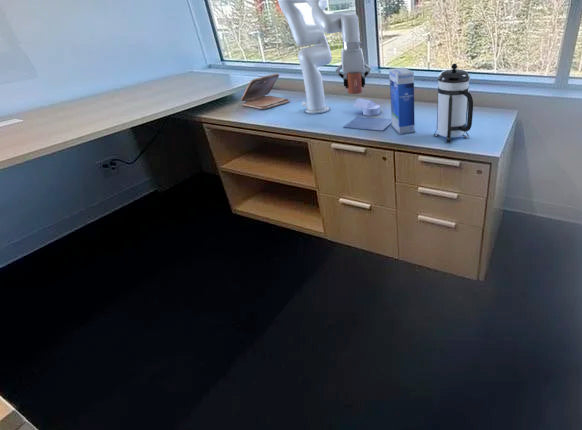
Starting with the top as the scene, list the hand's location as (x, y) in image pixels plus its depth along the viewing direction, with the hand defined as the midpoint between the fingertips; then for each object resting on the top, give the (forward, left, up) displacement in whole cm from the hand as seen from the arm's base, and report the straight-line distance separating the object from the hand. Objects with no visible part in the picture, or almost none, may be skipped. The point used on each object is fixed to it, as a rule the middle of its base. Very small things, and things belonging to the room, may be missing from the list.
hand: (354, 86), depth 176 cm
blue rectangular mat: (+6, 0, -17) cm, 18 cm away
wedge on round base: (-2, +17, -17) cm, 24 cm away
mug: (+1, -1, -2) cm, 3 cm away
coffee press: (+49, -8, -17) cm, 53 cm away
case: (-68, +19, -17) cm, 73 cm away
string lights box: (+24, -3, -17) cm, 30 cm away
